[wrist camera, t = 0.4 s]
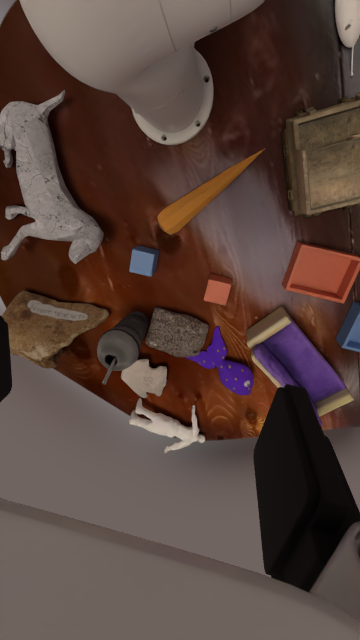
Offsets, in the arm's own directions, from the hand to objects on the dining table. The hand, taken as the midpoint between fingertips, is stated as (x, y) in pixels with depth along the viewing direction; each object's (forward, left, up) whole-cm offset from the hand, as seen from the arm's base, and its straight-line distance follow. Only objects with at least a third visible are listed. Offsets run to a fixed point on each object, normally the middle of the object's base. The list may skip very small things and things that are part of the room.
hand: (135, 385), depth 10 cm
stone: (+20, -1, -47) cm, 51 cm away
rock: (+21, -26, -48) cm, 59 cm away
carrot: (-6, -1, -47) cm, 47 cm away
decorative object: (+34, -1, -45) cm, 57 cm away
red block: (+10, +4, -46) cm, 47 cm away
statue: (-1, -37, -39) cm, 54 cm away
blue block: (+8, -10, -46) cm, 48 cm away
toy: (+26, +9, -46) cm, 53 cm away
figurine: (+42, -8, -43) cm, 61 cm away
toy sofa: (+19, +22, -46) cm, 55 cm away
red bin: (+3, +20, -46) cm, 50 cm away
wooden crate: (-14, +16, -46) cm, 51 cm away
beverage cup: (+21, -10, -46) cm, 52 cm away
